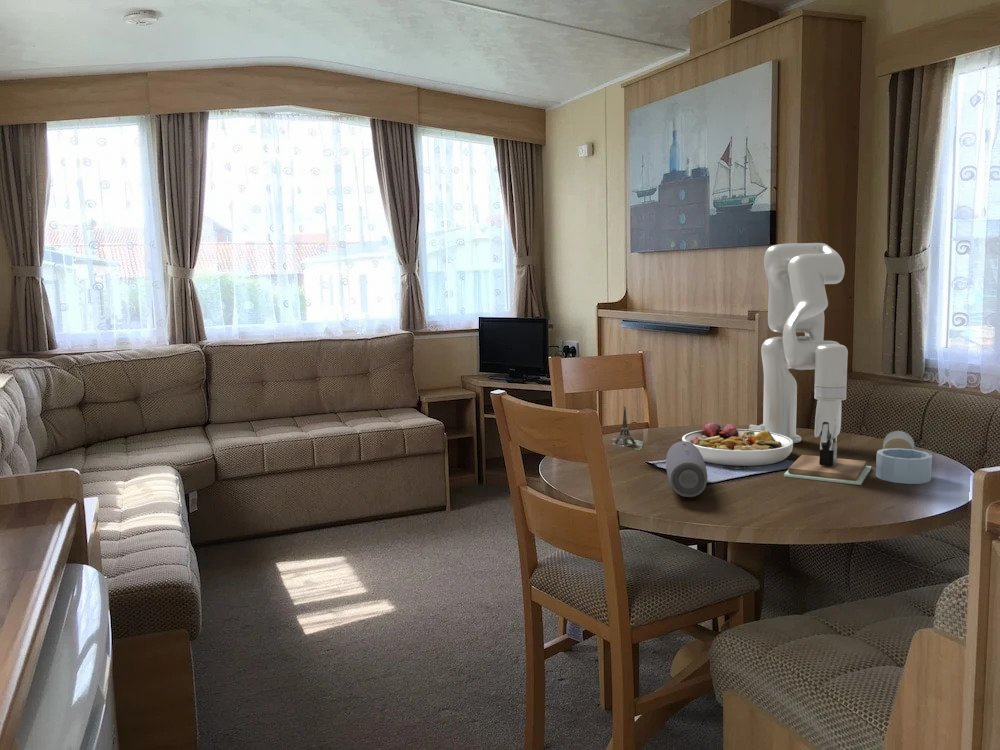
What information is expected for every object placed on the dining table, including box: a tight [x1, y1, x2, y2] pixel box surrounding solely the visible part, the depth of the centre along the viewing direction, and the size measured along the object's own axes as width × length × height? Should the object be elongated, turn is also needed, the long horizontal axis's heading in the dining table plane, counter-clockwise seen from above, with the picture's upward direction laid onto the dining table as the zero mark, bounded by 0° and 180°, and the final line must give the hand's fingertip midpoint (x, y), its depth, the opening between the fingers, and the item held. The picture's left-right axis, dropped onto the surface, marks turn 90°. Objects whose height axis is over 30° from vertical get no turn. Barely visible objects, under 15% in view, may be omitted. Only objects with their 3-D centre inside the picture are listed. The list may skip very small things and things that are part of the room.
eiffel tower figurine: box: [612, 405, 644, 451], centre depth 243 cm, size 15×10×13 cm
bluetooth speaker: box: [665, 440, 708, 498], centre depth 193 cm, size 23×9×10 cm, turn 170°
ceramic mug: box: [882, 430, 915, 450], centre depth 214 cm, size 11×8×8 cm
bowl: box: [681, 421, 794, 467], centre depth 226 cm, size 30×30×8 cm
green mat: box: [783, 465, 872, 486], centre depth 205 cm, size 18×18×1 cm
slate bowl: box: [875, 448, 933, 485], centre depth 198 cm, size 12×12×6 cm
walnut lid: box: [787, 441, 867, 480], centre depth 205 cm, size 16×16×7 cm
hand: (827, 462), depth 205 cm, fingers closed on walnut lid, 4 cm apart
